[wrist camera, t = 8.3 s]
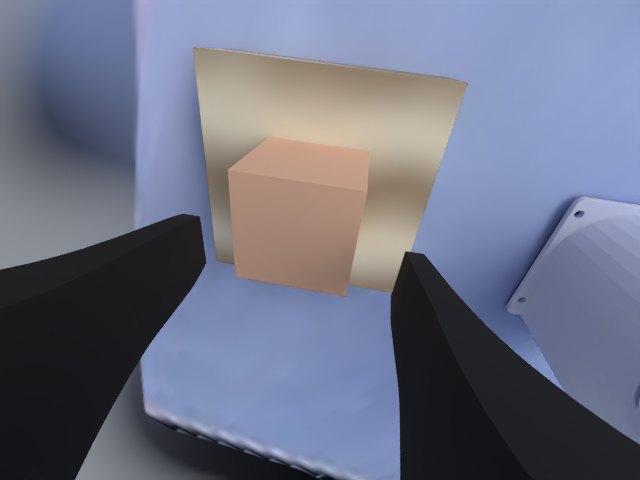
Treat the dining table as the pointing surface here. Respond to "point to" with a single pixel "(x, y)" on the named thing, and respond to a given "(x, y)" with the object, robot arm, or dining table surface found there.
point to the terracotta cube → (298, 213)
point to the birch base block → (331, 138)
